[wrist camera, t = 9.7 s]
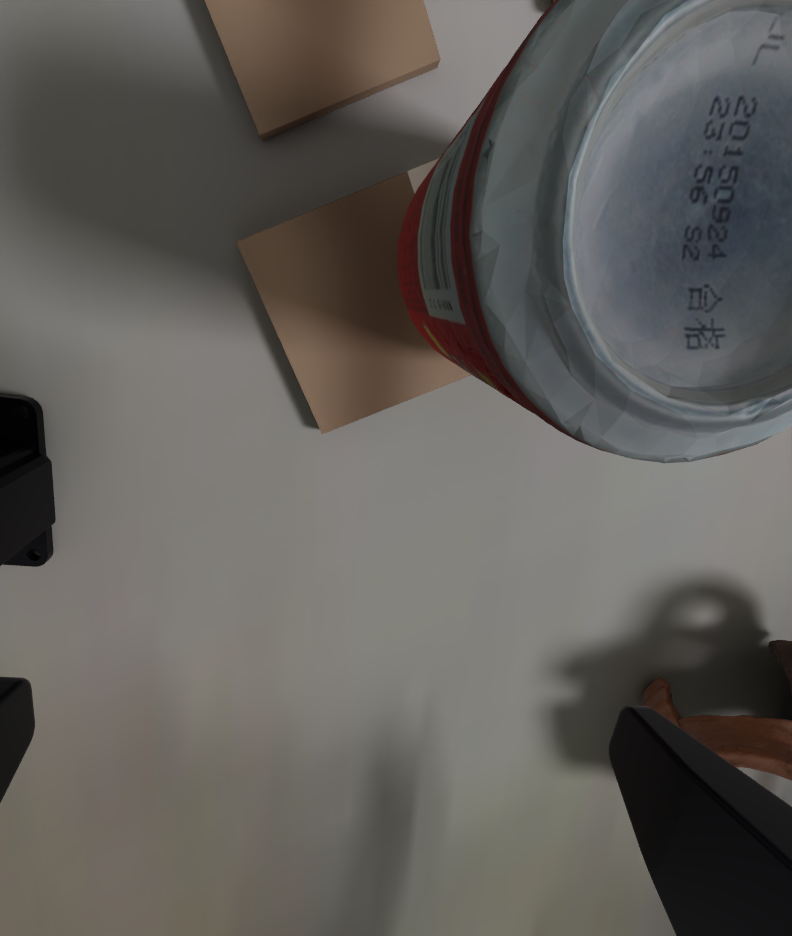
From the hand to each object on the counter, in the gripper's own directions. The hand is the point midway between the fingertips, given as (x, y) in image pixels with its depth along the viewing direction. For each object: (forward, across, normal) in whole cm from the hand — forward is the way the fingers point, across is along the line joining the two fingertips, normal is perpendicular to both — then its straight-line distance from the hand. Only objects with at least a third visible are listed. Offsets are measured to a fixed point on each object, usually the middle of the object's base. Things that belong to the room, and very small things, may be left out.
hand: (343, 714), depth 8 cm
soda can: (+13, -4, -8) cm, 15 cm away
